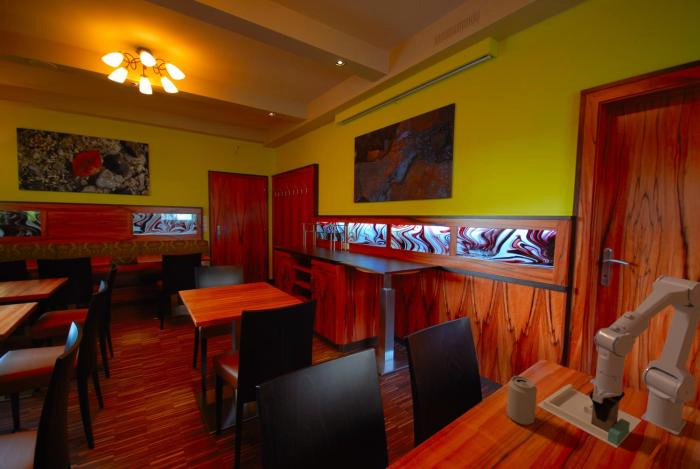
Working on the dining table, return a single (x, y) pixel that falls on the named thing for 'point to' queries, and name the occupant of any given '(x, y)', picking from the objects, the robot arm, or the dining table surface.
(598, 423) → the brown rectangular block
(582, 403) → the white tray
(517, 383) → the can
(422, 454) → the dining table surface
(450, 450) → the dining table surface
